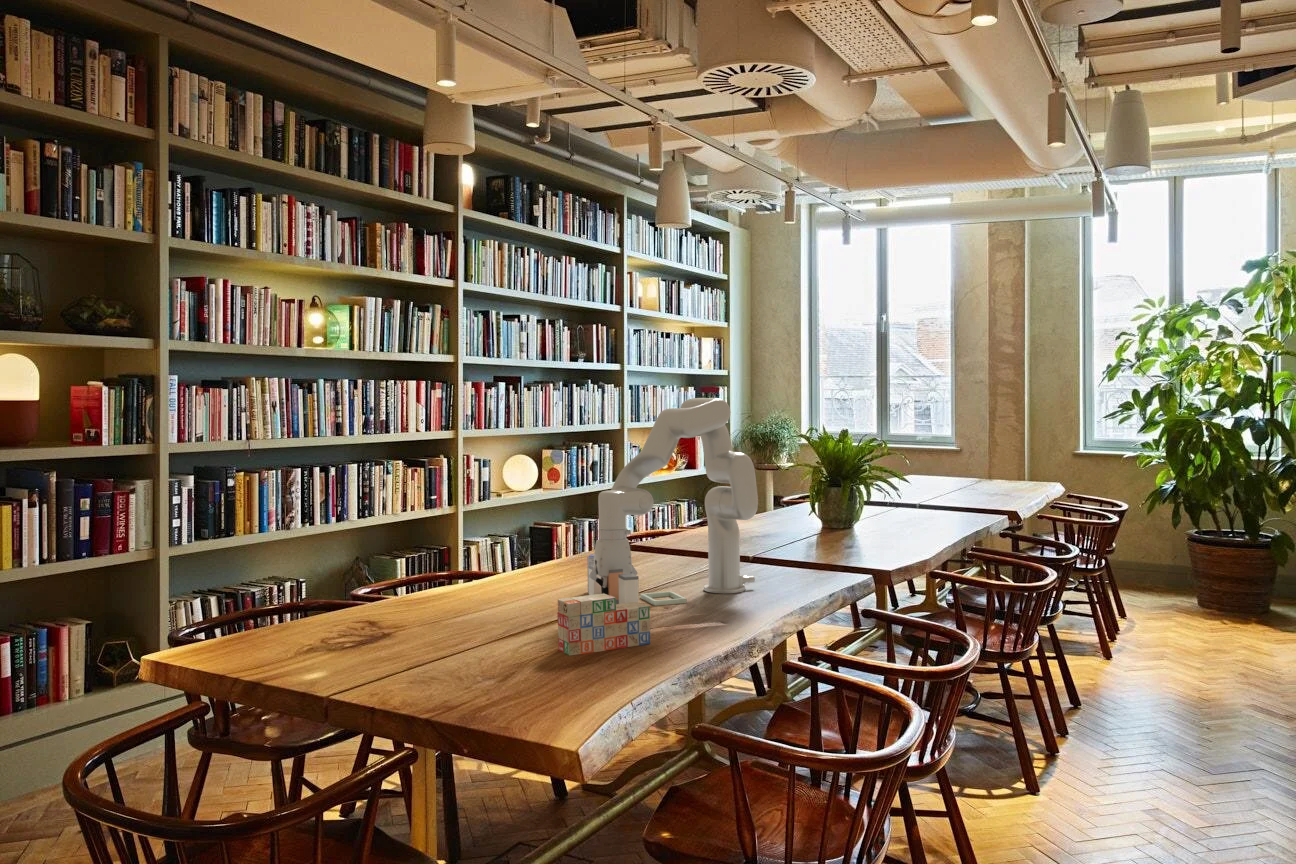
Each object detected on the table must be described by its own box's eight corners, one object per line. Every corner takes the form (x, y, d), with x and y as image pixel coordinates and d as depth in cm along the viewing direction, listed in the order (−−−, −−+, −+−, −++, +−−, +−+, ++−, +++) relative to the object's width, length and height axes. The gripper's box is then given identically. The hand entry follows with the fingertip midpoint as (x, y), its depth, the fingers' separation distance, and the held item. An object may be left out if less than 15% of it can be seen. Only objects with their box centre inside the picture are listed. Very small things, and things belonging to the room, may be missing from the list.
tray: (671, 599, 294) (671, 591, 294) (686, 607, 283) (686, 598, 283) (640, 602, 291) (640, 593, 291) (654, 610, 280) (654, 601, 280)
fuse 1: (602, 598, 293) (601, 564, 292) (607, 601, 288) (607, 566, 288) (588, 599, 291) (588, 565, 291) (594, 602, 286) (593, 567, 286)
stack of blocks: (638, 639, 247) (637, 589, 246) (650, 644, 241) (650, 593, 241) (557, 650, 237) (557, 598, 236) (568, 656, 231) (568, 602, 231)
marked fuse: (617, 601, 285) (617, 566, 284) (623, 604, 280) (622, 569, 280) (604, 602, 283) (603, 567, 283) (609, 605, 279) (609, 570, 278)
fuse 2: (632, 609, 277) (632, 573, 276) (638, 612, 272) (638, 576, 272) (618, 610, 275) (618, 574, 275) (624, 613, 271) (624, 577, 270)
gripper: (636, 531, 287) (637, 595, 288) (579, 535, 282) (581, 600, 282) (645, 534, 280) (646, 600, 281) (587, 538, 275) (589, 605, 275)
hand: (613, 599), depth 282 cm, fingers closed on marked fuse, 4 cm apart
